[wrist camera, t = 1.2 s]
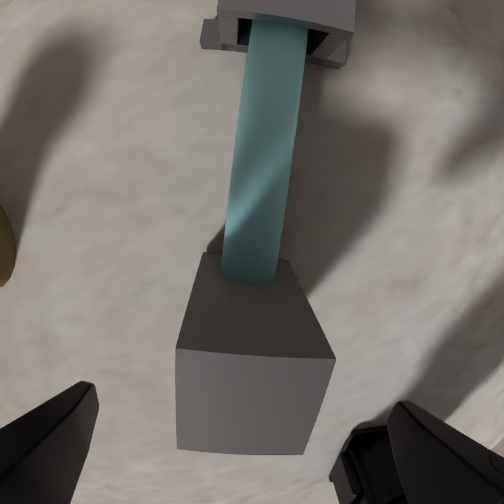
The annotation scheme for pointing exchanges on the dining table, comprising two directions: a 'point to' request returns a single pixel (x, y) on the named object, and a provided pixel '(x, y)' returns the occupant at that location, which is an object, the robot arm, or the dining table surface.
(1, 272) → the cork
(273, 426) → the tube
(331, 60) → the sleeve
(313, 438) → the dining table surface
